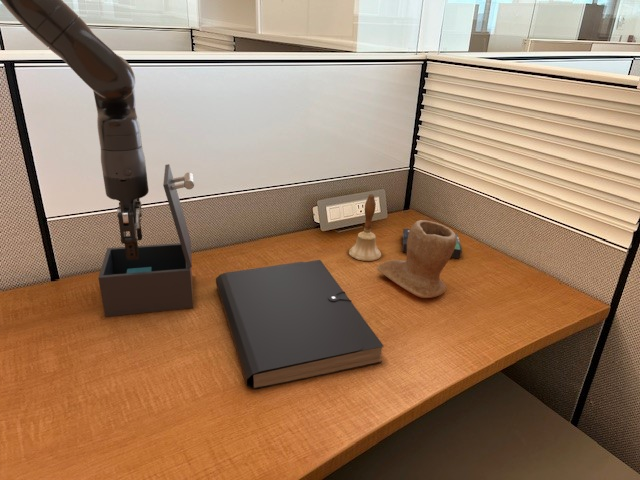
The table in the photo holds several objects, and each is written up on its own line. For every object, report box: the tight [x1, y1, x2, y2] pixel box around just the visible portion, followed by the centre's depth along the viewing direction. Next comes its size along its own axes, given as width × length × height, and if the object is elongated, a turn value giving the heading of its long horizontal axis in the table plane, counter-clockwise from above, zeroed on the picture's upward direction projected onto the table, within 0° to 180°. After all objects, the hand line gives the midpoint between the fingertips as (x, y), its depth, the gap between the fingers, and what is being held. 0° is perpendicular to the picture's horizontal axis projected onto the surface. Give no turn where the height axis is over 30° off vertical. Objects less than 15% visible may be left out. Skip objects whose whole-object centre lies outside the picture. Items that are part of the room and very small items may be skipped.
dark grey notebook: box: [215, 259, 384, 390], centre depth 93 cm, size 33×4×24 cm
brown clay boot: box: [376, 219, 457, 299], centre depth 106 cm, size 15×12×15 cm
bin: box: [97, 242, 194, 318], centre depth 99 cm, size 17×13×9 cm
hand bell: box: [348, 194, 382, 262], centre depth 119 cm, size 8×8×16 cm
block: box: [127, 267, 152, 273], centre depth 99 cm, size 5×5×5 cm
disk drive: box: [402, 228, 463, 259], centre depth 127 cm, size 10×3×15 cm
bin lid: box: [162, 164, 195, 269], centre depth 95 cm, size 17×13×5 cm
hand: (135, 249), depth 95 cm, fingers open, 8 cm apart
